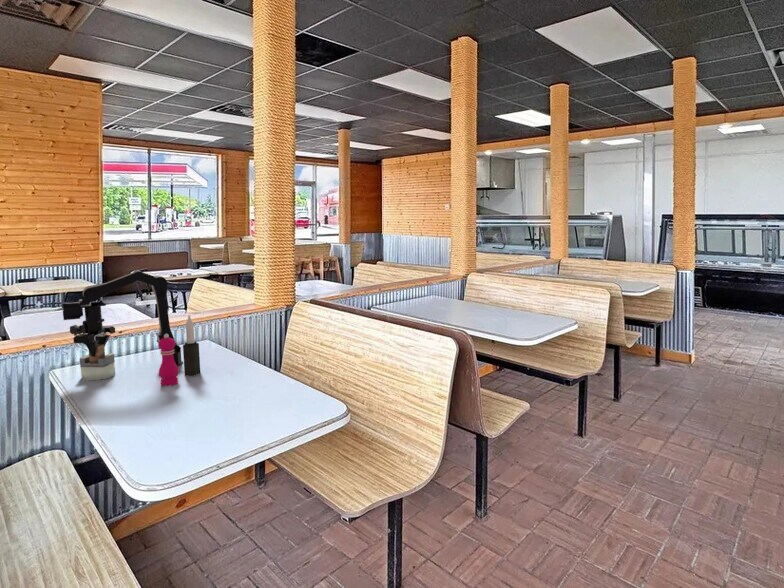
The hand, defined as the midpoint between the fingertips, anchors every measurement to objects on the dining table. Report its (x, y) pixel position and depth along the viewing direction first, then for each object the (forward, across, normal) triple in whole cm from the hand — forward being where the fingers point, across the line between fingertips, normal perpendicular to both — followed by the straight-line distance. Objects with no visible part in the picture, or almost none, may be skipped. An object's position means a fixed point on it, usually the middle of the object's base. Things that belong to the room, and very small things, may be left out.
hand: (97, 354), depth 205 cm
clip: (+4, 0, 0) cm, 4 cm away
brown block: (+3, 0, 0) cm, 3 cm away
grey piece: (+9, 0, 0) cm, 9 cm away
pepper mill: (+9, +7, +33) cm, 35 cm away
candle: (+9, -5, +37) cm, 38 cm away
